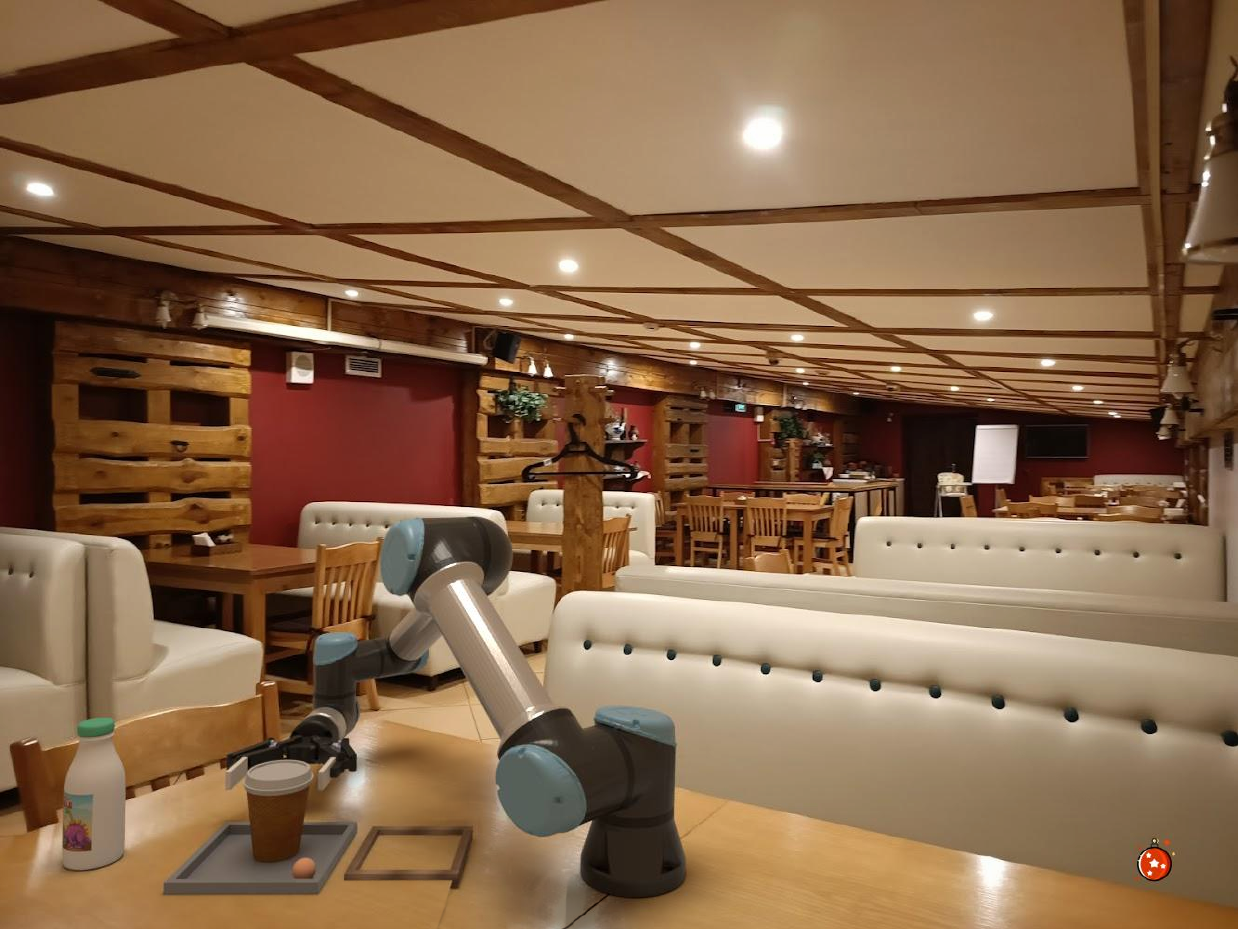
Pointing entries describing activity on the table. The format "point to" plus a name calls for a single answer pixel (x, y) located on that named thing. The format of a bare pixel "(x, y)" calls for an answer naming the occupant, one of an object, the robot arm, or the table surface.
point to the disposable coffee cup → (277, 807)
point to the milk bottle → (94, 800)
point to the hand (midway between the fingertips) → (274, 781)
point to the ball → (304, 869)
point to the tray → (259, 862)
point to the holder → (451, 874)
